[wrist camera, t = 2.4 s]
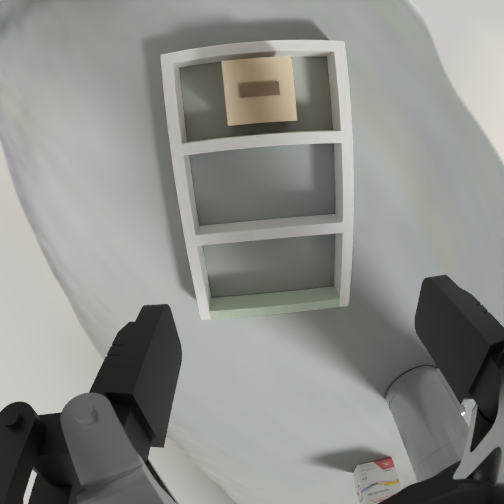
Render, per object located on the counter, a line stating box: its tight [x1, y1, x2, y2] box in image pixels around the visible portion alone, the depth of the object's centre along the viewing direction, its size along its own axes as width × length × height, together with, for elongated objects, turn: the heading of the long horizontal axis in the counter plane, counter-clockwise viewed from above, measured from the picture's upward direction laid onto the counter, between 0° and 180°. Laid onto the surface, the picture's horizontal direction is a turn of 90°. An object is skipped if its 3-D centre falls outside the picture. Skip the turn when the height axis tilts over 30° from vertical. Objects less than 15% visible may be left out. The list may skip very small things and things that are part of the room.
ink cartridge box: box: [353, 458, 401, 504], centre depth 45 cm, size 9×5×15 cm, turn 92°
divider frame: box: [160, 40, 354, 320], centre depth 26 cm, size 15×25×2 cm, turn 5°
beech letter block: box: [221, 56, 297, 126], centre depth 22 cm, size 5×5×5 cm
